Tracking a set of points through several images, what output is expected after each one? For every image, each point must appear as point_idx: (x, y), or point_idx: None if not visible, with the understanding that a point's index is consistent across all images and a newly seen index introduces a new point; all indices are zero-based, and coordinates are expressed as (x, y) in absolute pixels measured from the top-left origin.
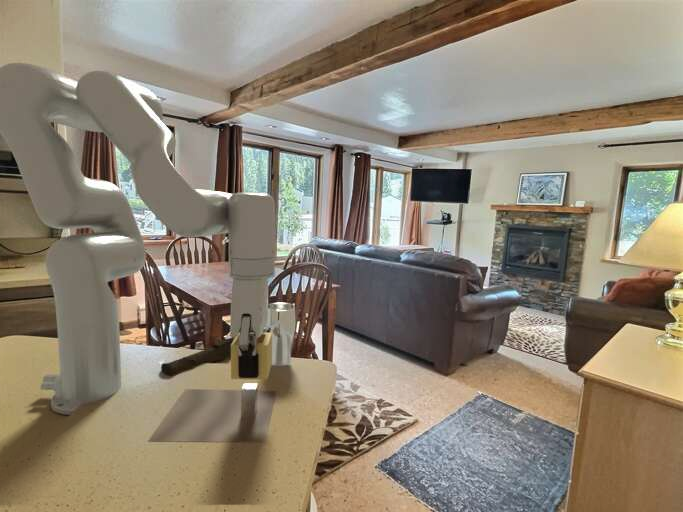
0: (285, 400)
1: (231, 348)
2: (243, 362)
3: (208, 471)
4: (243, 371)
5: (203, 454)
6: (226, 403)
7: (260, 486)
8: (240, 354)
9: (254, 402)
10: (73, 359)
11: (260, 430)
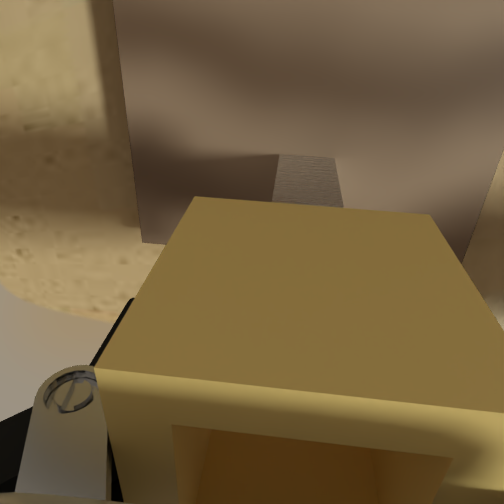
0: None
1: (110, 342)
2: (100, 353)
3: (42, 79)
4: (126, 309)
5: (112, 39)
6: (394, 73)
7: (27, 224)
8: (47, 393)
9: None
10: None
11: None
